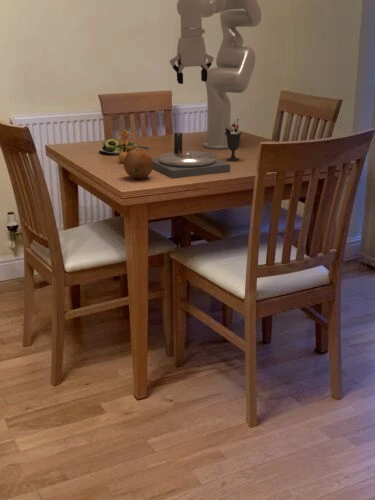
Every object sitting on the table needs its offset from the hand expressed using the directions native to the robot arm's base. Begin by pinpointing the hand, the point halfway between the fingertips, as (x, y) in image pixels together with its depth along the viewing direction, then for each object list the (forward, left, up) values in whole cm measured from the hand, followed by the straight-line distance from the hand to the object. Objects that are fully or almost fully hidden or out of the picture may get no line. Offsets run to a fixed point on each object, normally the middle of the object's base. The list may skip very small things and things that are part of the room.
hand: (192, 82), depth 235 cm
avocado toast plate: (+20, -24, -29) cm, 42 cm away
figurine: (+26, -4, -28) cm, 38 cm away
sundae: (-12, +10, -28) cm, 32 cm away
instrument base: (+10, +16, -28) cm, 34 cm away
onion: (+31, +22, -28) cm, 47 cm away
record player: (+10, +16, -25) cm, 32 cm away
